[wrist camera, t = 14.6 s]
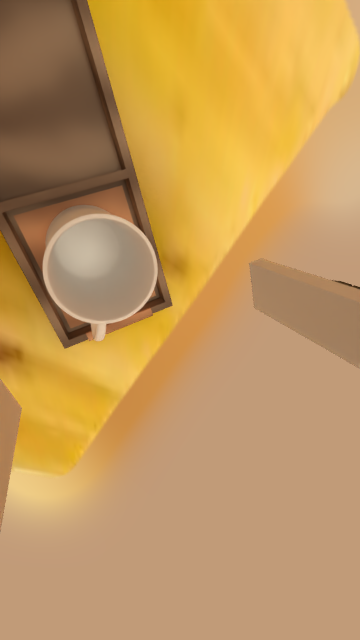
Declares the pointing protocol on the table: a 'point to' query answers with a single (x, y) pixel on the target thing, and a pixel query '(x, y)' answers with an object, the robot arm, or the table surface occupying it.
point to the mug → (98, 266)
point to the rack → (61, 143)
